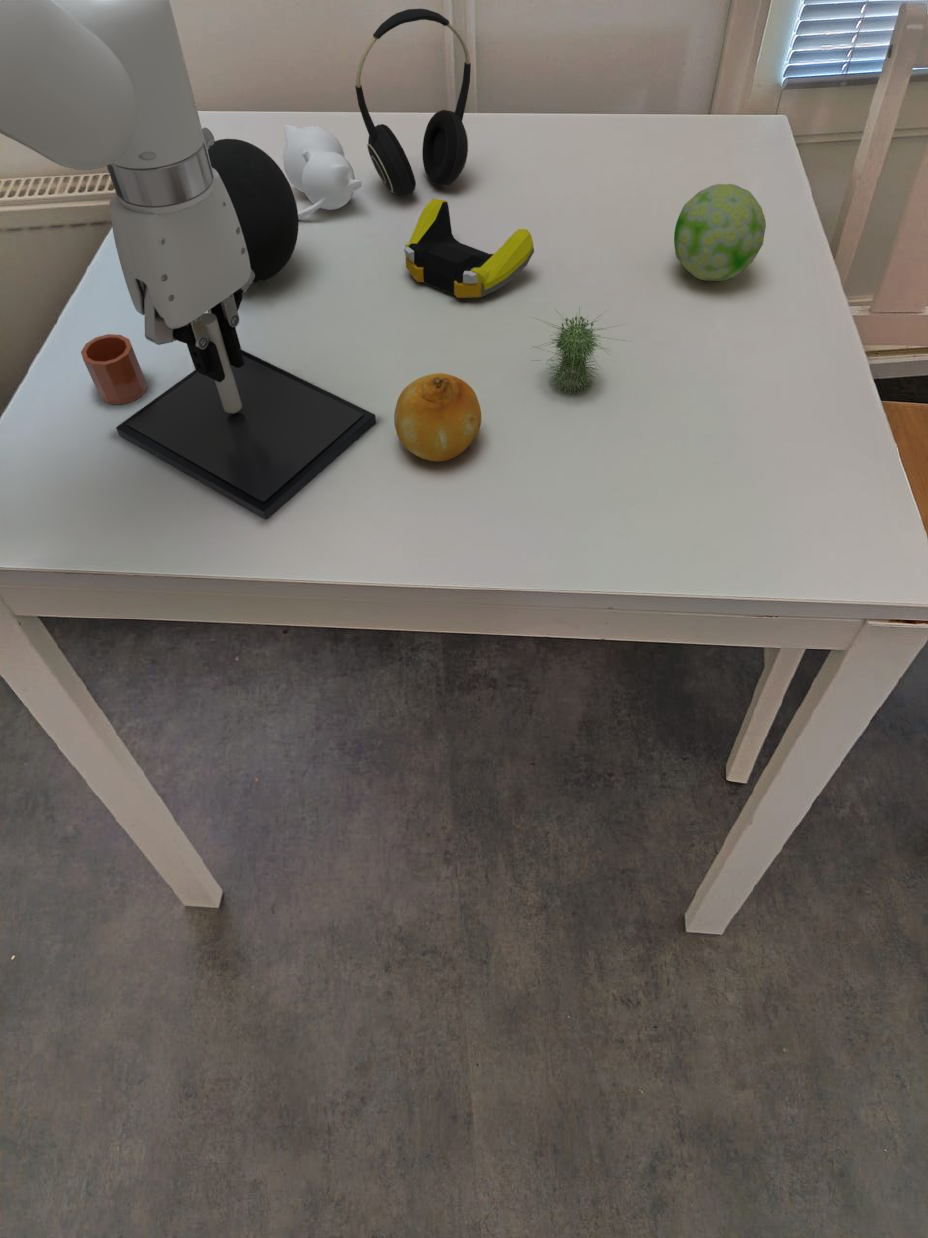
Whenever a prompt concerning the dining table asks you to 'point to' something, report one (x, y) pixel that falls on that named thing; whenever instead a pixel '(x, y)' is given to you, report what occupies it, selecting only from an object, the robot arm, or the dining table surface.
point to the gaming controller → (461, 256)
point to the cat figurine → (318, 168)
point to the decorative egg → (258, 203)
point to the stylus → (228, 385)
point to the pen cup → (114, 369)
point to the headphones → (442, 133)
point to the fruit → (437, 417)
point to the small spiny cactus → (574, 352)
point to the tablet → (249, 433)
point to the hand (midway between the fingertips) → (220, 367)
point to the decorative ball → (719, 232)
